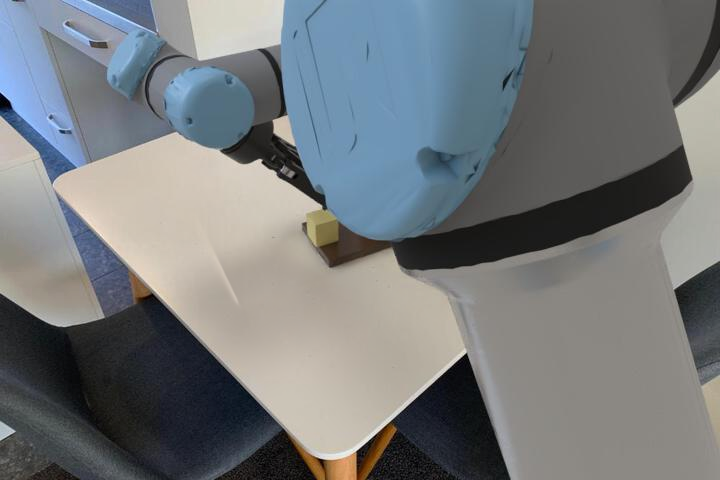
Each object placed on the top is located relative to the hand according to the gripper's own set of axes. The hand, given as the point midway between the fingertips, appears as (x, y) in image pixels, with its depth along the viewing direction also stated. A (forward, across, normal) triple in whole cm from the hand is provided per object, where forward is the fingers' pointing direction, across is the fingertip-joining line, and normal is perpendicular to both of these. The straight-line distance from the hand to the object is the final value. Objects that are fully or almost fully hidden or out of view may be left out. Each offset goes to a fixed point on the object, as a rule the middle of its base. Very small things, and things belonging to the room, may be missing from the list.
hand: (344, 197), depth 83 cm
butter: (+2, 0, +8) cm, 8 cm away
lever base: (+11, 0, +1) cm, 11 cm away
